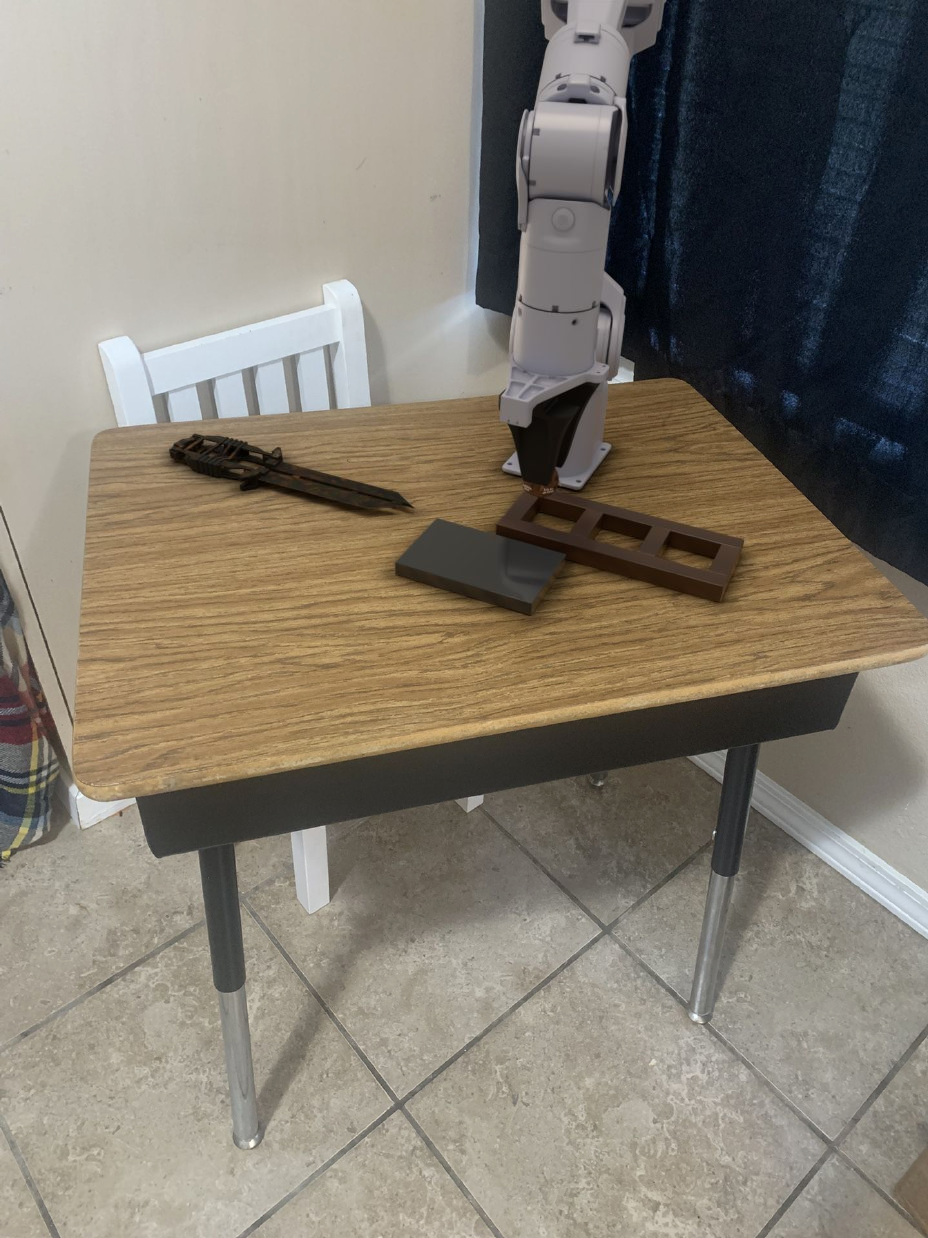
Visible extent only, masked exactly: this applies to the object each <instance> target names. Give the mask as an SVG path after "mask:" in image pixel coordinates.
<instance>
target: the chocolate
mask: <svg viewBox="0 0 928 1238" xmlns="http://www.w3.org/2000/svg"><path fill="white" fill-rule="evenodd" d="M521 481H522V482H521V486H522V487H521V488H522V490H523V492H524V491H526V492H527V493H528V494H530V495H532V496H535V497H539V498H544V497H549V496H550V495H552V494H553V493H554V492H555V491H557V489H558V487H560V488H561V487H562V486H561V481H559V475H558V472H557V470H556V468H555V471H554V474H553V477H552V479H551V481H550V483H549V484H548V485H547V486H542V485H538V484H534V483H530V482H526V481H523V480H521ZM558 484H559V485H558Z"/></svg>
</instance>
